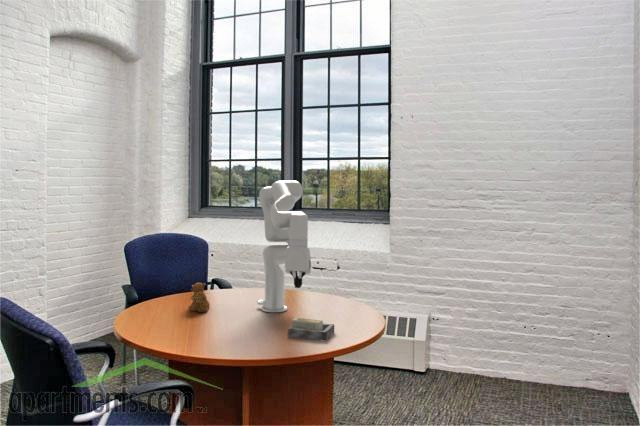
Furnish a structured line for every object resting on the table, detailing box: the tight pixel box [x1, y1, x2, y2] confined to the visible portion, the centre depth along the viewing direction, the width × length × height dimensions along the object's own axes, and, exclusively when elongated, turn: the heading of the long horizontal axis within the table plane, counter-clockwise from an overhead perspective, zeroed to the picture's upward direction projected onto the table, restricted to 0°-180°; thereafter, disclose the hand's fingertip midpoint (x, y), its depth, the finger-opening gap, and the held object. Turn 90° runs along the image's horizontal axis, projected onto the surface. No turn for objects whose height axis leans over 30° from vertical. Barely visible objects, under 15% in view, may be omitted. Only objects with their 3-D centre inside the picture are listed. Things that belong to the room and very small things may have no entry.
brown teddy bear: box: [187, 282, 211, 313], centre depth 250 cm, size 10×14×13 cm
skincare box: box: [291, 317, 324, 331], centre depth 213 cm, size 6×4×12 cm
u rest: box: [287, 322, 335, 342], centre depth 213 cm, size 16×12×4 cm
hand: (297, 287), depth 214 cm, fingers closed
